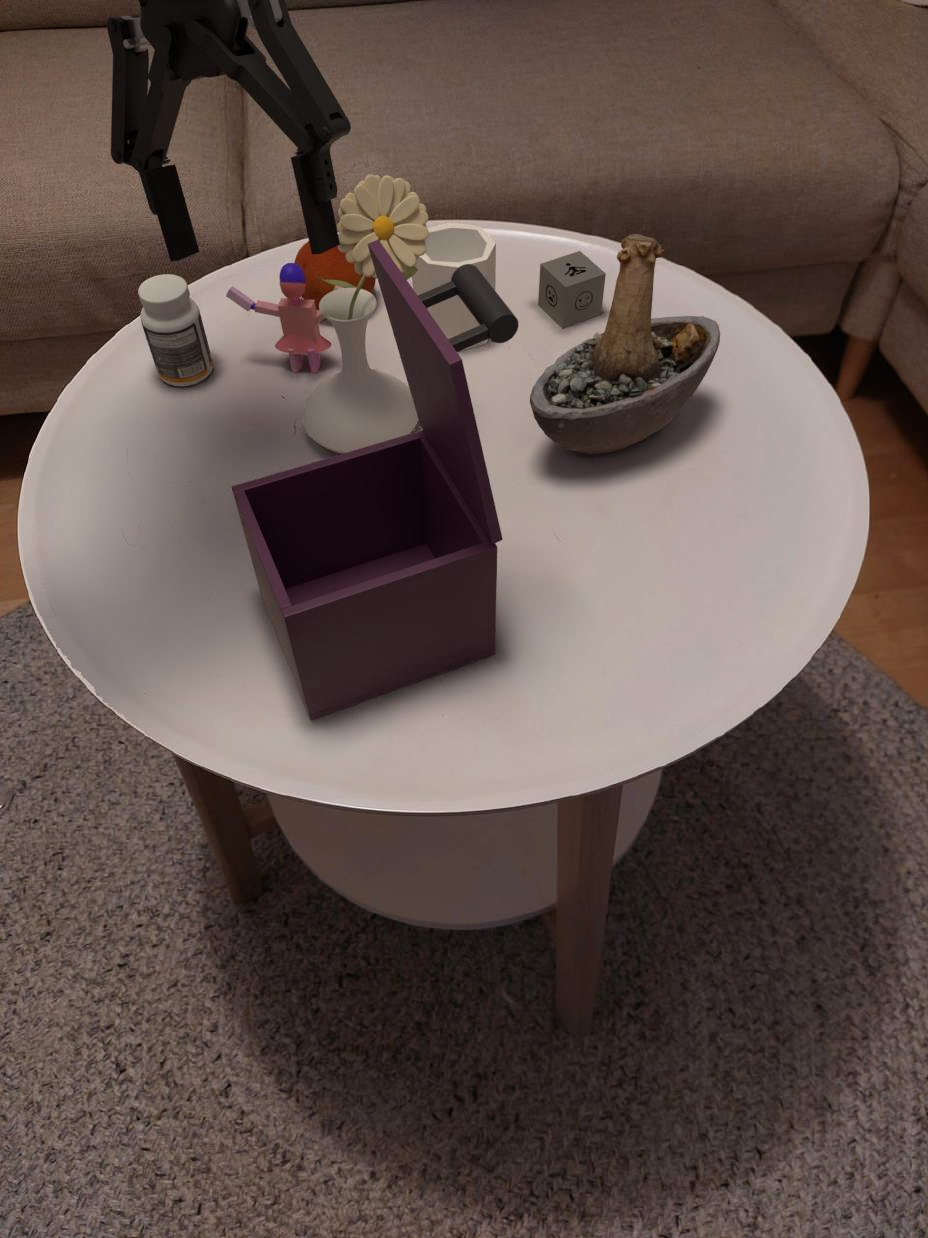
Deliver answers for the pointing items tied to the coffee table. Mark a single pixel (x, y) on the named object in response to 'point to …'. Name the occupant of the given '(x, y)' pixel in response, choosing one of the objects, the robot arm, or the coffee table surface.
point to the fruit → (327, 272)
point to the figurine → (292, 318)
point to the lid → (446, 370)
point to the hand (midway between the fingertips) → (253, 253)
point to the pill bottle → (174, 330)
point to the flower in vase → (360, 396)
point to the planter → (625, 366)
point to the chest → (370, 571)
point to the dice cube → (571, 289)
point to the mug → (439, 263)
